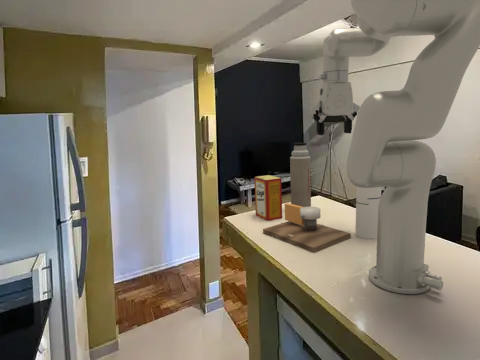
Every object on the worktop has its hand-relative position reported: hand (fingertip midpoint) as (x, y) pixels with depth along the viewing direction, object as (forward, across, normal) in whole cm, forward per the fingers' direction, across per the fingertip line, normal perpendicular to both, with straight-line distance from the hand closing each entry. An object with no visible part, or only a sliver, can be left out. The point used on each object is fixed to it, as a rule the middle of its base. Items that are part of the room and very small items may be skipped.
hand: (334, 134), depth 103 cm
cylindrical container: (+32, +7, -10) cm, 34 cm away
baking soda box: (+33, -15, +21) cm, 42 cm away
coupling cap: (+30, -11, +2) cm, 31 cm away
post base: (+32, -12, -3) cm, 34 cm away
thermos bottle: (+33, -1, +23) cm, 40 cm away
